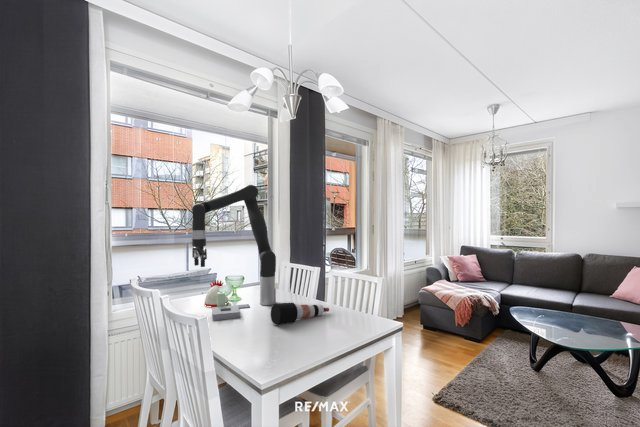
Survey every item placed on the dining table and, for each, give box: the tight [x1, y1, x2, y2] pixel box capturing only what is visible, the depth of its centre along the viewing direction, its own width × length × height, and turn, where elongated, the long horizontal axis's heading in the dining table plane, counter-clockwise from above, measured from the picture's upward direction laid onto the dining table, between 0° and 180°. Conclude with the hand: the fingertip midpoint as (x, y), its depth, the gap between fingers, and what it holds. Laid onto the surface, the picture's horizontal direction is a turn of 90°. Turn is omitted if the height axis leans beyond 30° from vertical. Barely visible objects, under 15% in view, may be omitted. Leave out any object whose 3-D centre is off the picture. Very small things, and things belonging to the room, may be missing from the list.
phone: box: [237, 303, 251, 310], centre depth 188 cm, size 7×13×1 cm, turn 111°
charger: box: [217, 291, 226, 307], centre depth 182 cm, size 4×4×10 cm
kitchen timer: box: [204, 279, 229, 308], centre depth 195 cm, size 14×14×15 cm
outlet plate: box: [211, 304, 241, 321], centre depth 173 cm, size 14×14×3 cm
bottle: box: [270, 302, 330, 325], centre depth 166 cm, size 10×34×10 cm, turn 126°
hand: (199, 266), depth 181 cm, fingers open, 8 cm apart
